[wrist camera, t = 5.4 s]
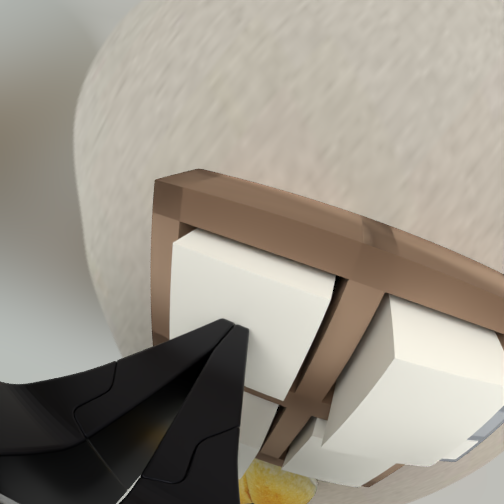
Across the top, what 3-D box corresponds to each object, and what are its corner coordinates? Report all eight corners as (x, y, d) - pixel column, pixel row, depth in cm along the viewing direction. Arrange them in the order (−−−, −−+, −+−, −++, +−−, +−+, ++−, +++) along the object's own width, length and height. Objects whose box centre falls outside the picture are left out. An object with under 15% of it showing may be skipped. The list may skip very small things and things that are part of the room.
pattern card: (455, 457, 11) (455, 463, 10) (385, 448, 12) (384, 455, 12) (517, 402, 8) (519, 408, 7) (447, 388, 9) (448, 396, 9)
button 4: (303, 344, 11) (283, 401, 8) (209, 307, 12) (169, 350, 9) (340, 251, 9) (330, 300, 6) (222, 213, 10) (173, 242, 7)
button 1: (365, 442, 12) (357, 487, 9) (297, 424, 13) (281, 469, 10) (406, 402, 10) (406, 456, 8) (326, 380, 11) (312, 435, 9)
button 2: (427, 403, 8) (430, 466, 6) (336, 379, 9) (320, 447, 7) (490, 323, 6) (518, 389, 4) (388, 286, 7) (395, 357, 5)
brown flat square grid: (374, 453, 12) (368, 487, 10) (181, 385, 15) (159, 413, 13) (515, 280, 7) (543, 316, 5) (199, 168, 10) (155, 179, 8)
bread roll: (316, 491, 17) (304, 527, 14) (222, 469, 20) (203, 501, 17) (326, 454, 14) (310, 505, 11) (201, 426, 17) (175, 466, 14)
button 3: (262, 433, 12) (240, 479, 10) (188, 400, 13) (159, 440, 11) (284, 390, 10) (259, 450, 8) (191, 351, 11) (152, 399, 9)
